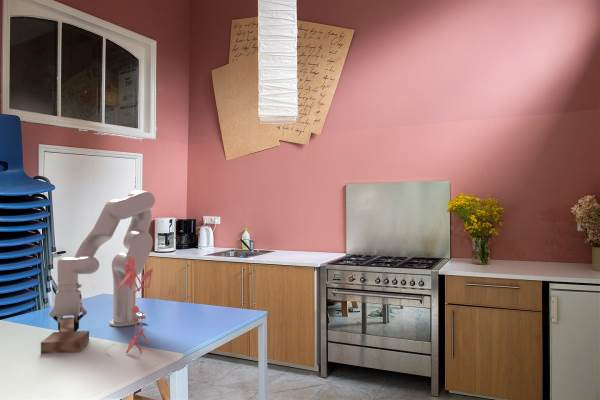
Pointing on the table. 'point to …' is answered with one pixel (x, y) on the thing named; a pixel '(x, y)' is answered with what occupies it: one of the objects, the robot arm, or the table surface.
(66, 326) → the maple block
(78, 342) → the walnut base
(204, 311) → the table surface
